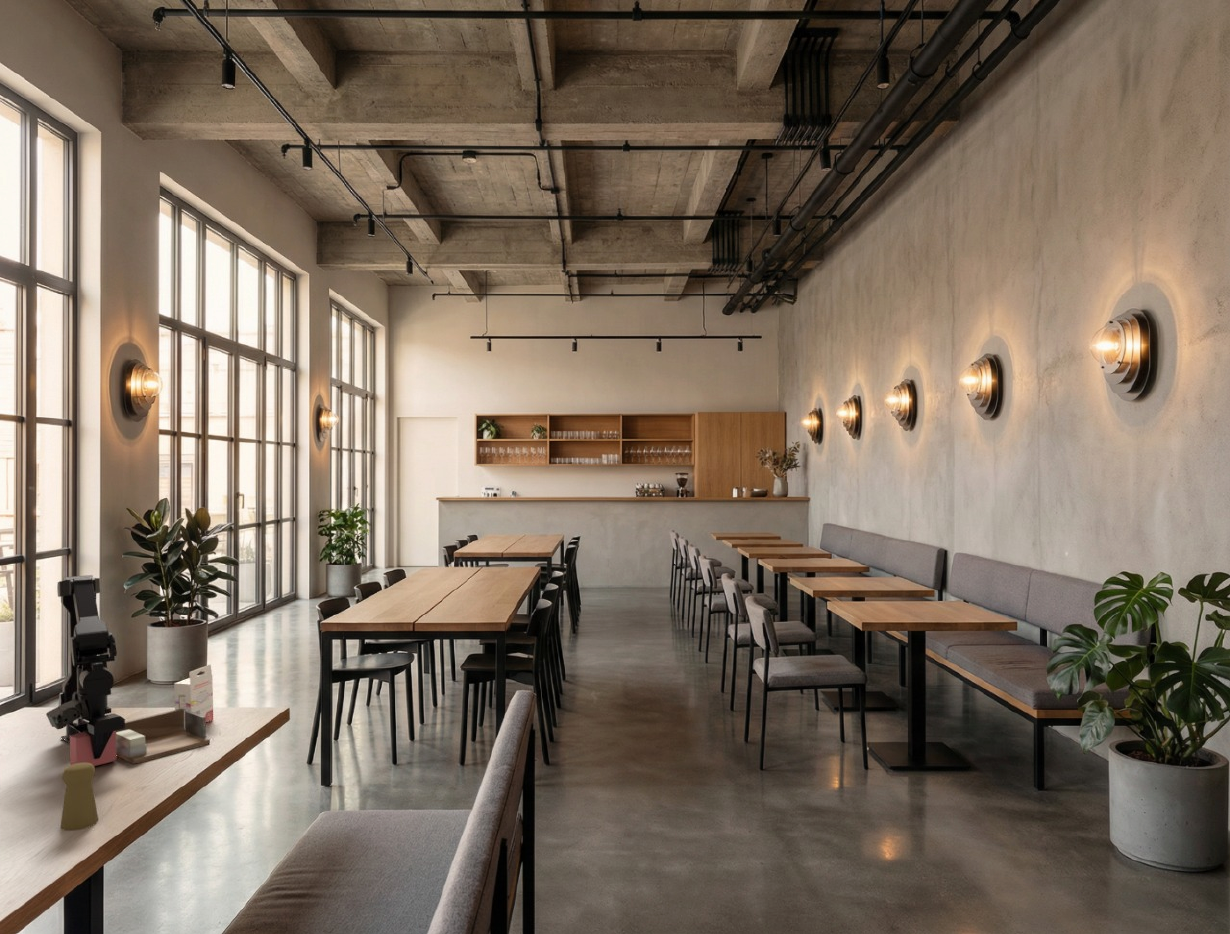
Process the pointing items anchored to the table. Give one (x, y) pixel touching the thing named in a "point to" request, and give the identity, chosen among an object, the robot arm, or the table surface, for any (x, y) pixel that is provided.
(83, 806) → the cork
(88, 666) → the robot arm
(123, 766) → the table surface
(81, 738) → the tall dusty pink block
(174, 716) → the shelf
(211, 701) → the ink cartridge box
